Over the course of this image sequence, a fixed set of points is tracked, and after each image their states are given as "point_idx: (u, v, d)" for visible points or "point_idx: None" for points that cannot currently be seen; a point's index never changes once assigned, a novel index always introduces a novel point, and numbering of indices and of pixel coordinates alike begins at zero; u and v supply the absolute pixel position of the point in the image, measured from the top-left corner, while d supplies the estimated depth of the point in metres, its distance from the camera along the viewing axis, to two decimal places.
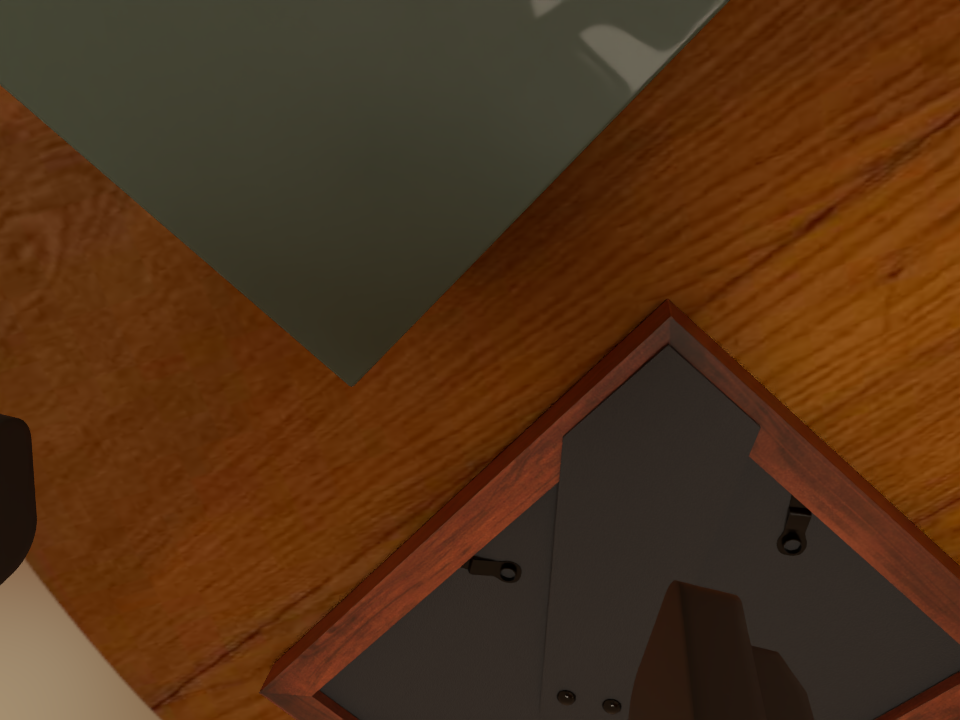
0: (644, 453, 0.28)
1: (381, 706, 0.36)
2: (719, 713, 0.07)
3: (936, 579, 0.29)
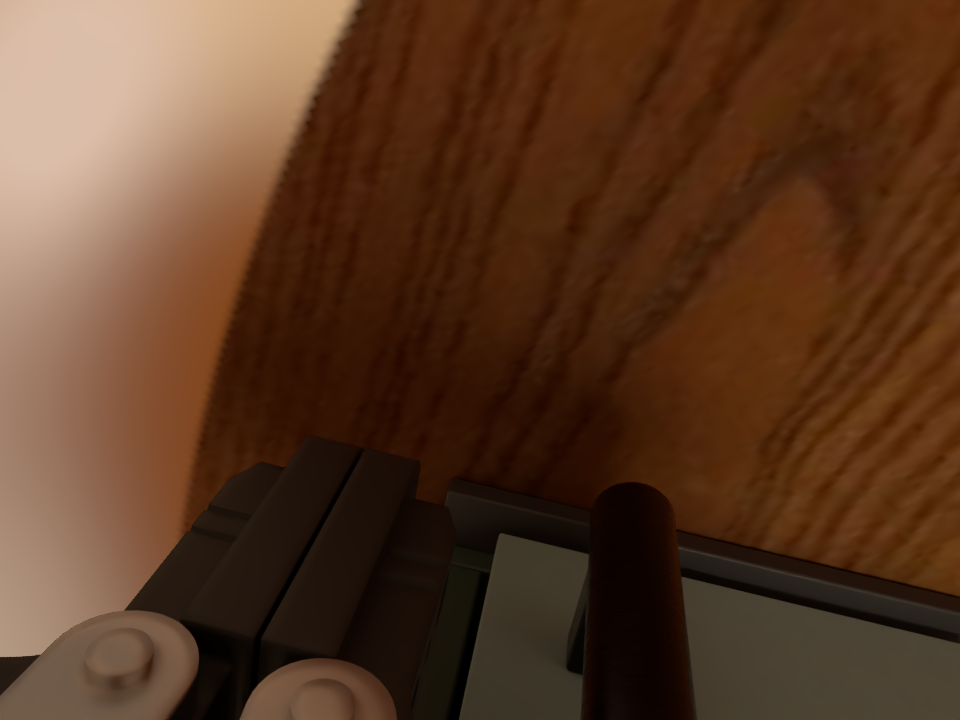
0: None
1: None
2: (342, 534, 0.09)
3: None
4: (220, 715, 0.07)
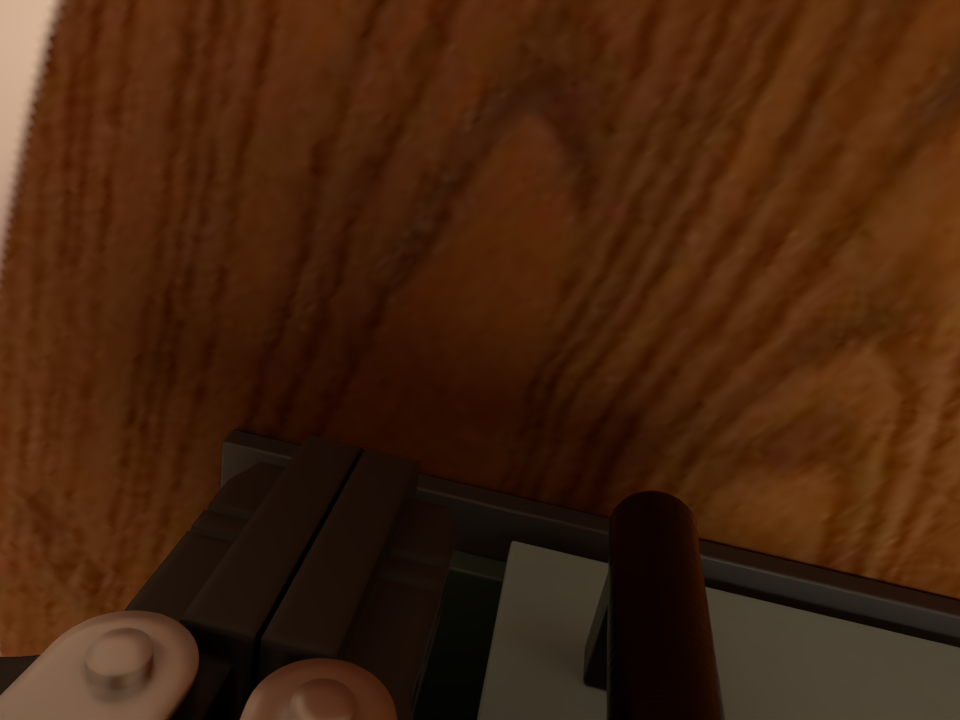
0: None
1: None
2: (342, 534, 0.09)
3: None
4: (221, 714, 0.07)
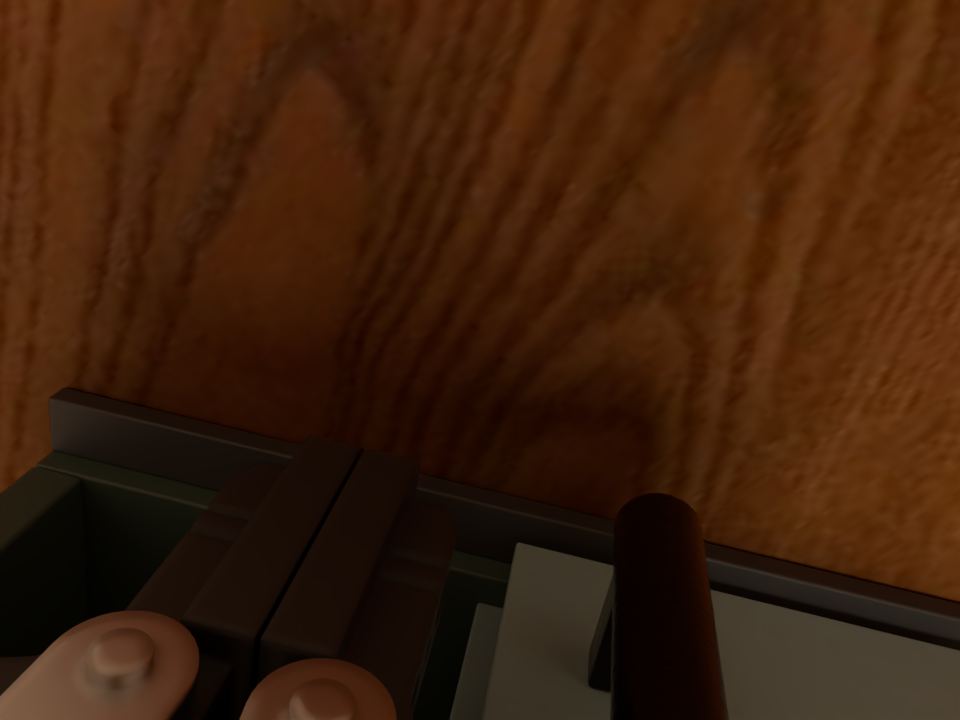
0: None
1: None
2: (341, 534, 0.09)
3: None
4: (220, 714, 0.07)
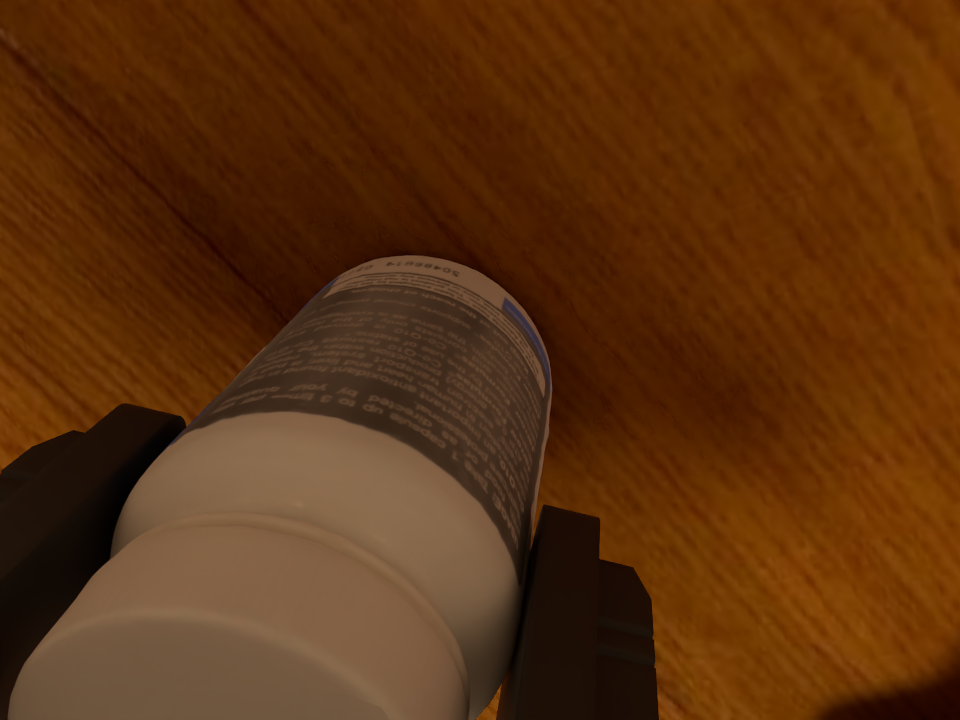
0: None
1: None
2: (554, 606, 0.08)
3: None
4: None
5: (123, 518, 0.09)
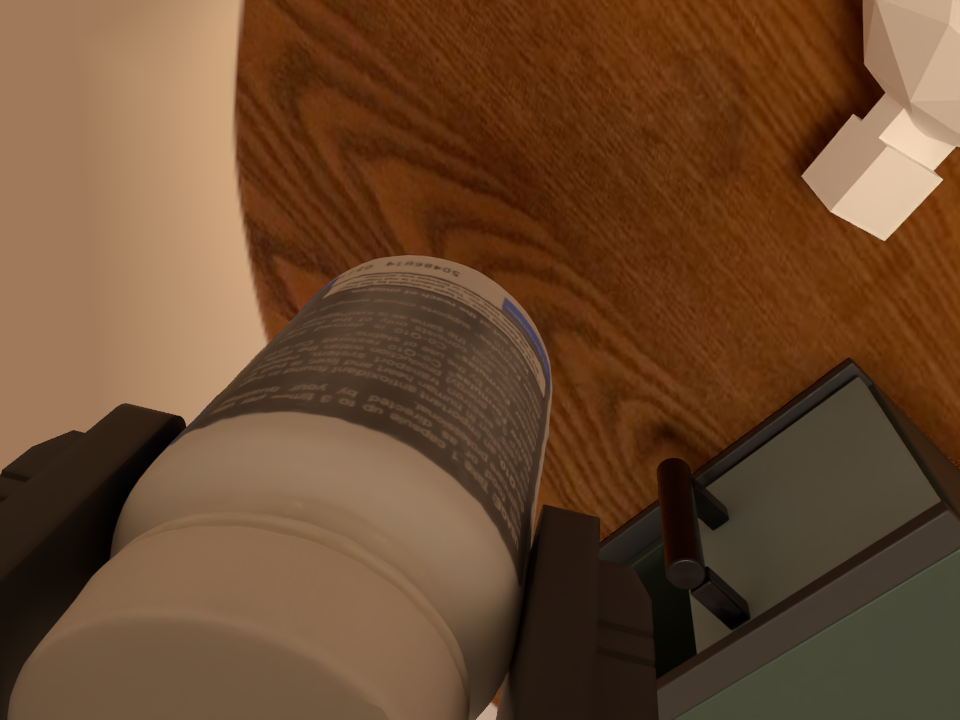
0: None
1: None
2: (554, 607, 0.08)
3: None
4: None
5: (123, 518, 0.09)
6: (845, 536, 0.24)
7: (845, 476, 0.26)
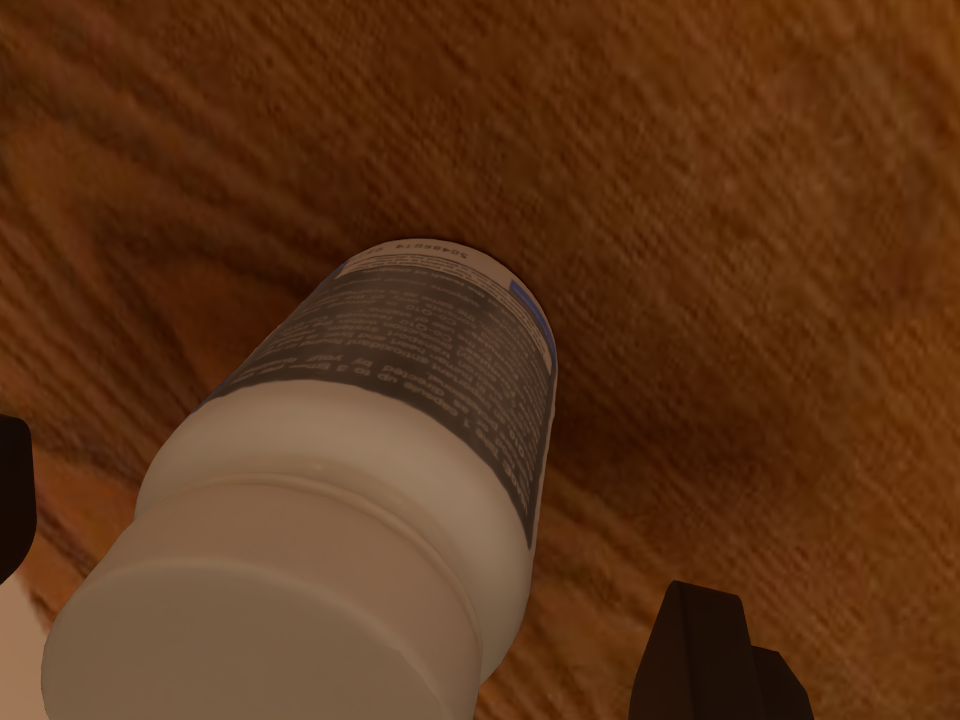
0: None
1: None
2: (719, 713, 0.07)
3: None
4: None
5: (146, 484, 0.09)
6: None
7: None
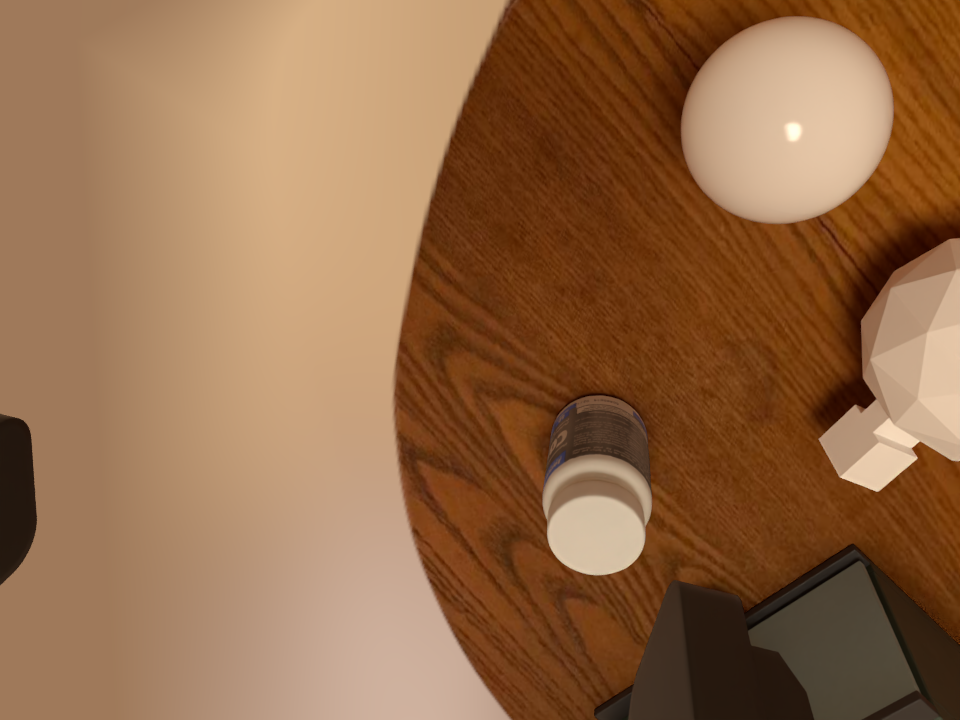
0: None
1: None
2: (719, 713, 0.07)
3: None
4: None
5: (554, 480, 0.34)
6: (851, 701, 0.35)
7: (850, 649, 0.37)
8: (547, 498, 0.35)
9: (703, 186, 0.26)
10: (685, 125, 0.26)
